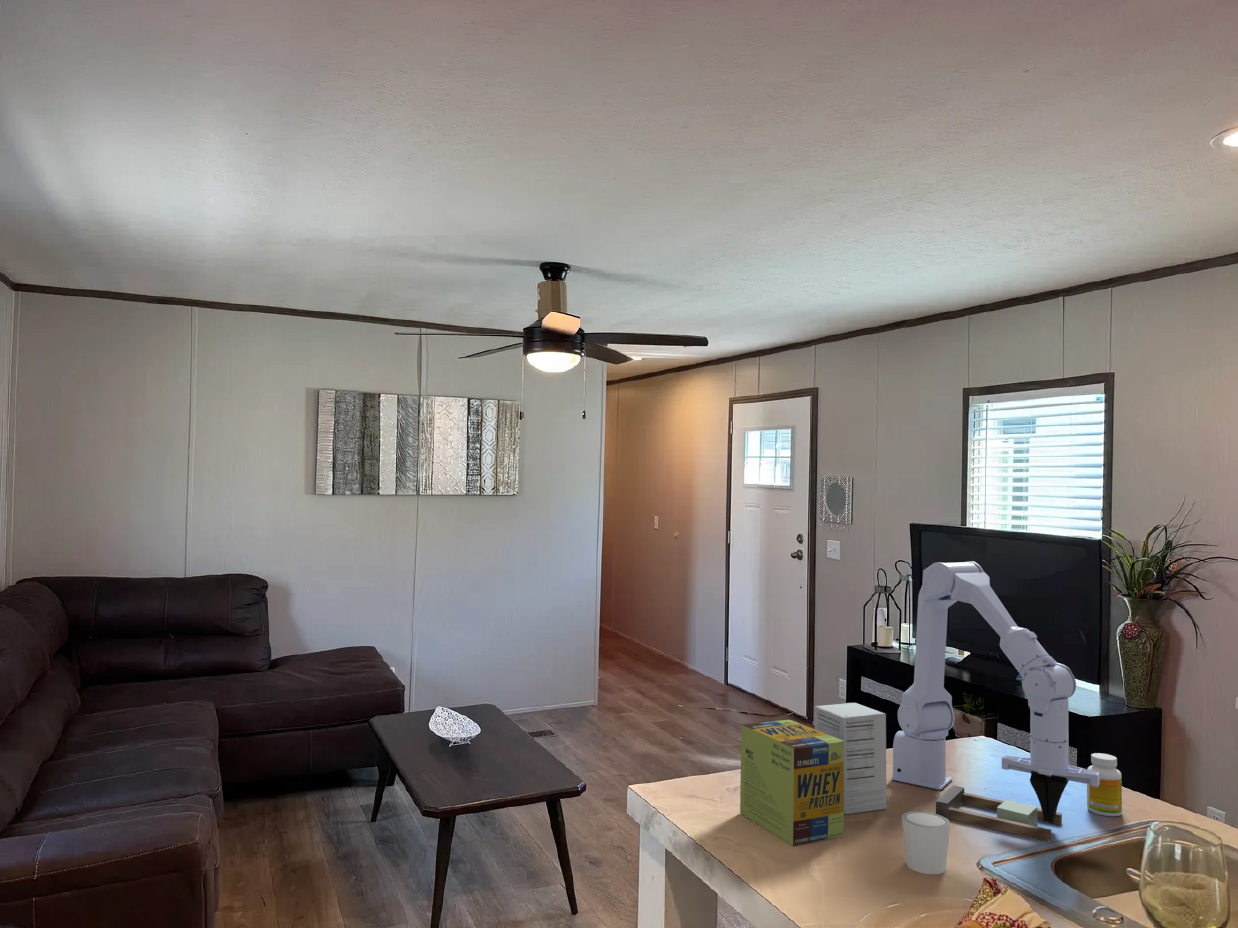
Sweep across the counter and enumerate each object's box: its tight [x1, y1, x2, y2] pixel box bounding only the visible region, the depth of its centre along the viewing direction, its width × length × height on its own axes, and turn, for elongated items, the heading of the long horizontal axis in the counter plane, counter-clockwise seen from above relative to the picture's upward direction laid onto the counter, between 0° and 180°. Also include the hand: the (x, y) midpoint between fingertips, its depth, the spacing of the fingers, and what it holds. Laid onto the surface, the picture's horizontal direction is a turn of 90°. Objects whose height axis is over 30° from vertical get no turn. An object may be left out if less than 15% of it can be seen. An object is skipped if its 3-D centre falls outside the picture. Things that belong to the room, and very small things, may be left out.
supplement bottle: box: [1086, 752, 1123, 817], centre depth 151 cm, size 5×5×10 cm
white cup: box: [901, 810, 951, 875], centre depth 128 cm, size 7×7×7 cm
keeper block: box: [996, 799, 1038, 826], centre depth 145 cm, size 5×5×3 cm
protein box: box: [739, 719, 845, 847], centre depth 143 cm, size 10×15×16 cm
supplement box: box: [814, 702, 887, 815], centre depth 154 cm, size 10×9×17 cm
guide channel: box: [935, 784, 1063, 842], centre depth 147 cm, size 18×10×2 cm, turn 53°
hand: (1049, 820), depth 142 cm, fingers closed
